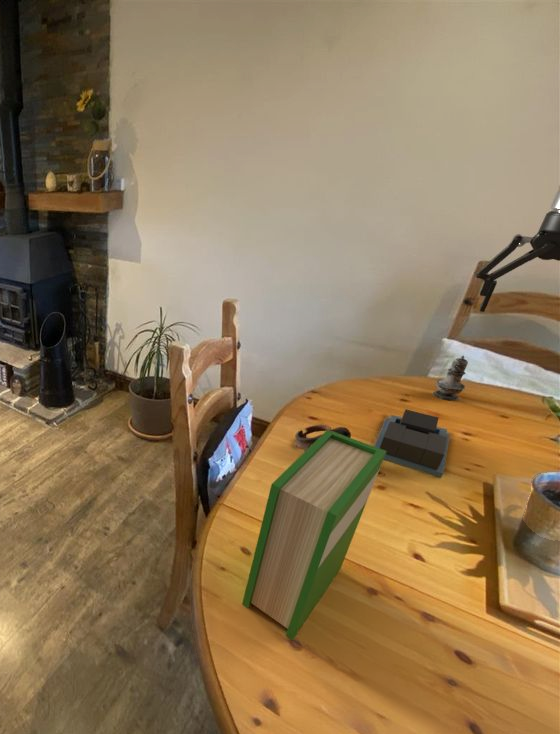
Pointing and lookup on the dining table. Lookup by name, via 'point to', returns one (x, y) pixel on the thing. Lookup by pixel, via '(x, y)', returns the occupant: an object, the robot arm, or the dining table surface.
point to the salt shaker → (452, 381)
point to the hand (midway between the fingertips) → (524, 315)
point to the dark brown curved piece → (306, 442)
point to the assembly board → (413, 447)
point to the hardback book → (310, 527)
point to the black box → (419, 422)
